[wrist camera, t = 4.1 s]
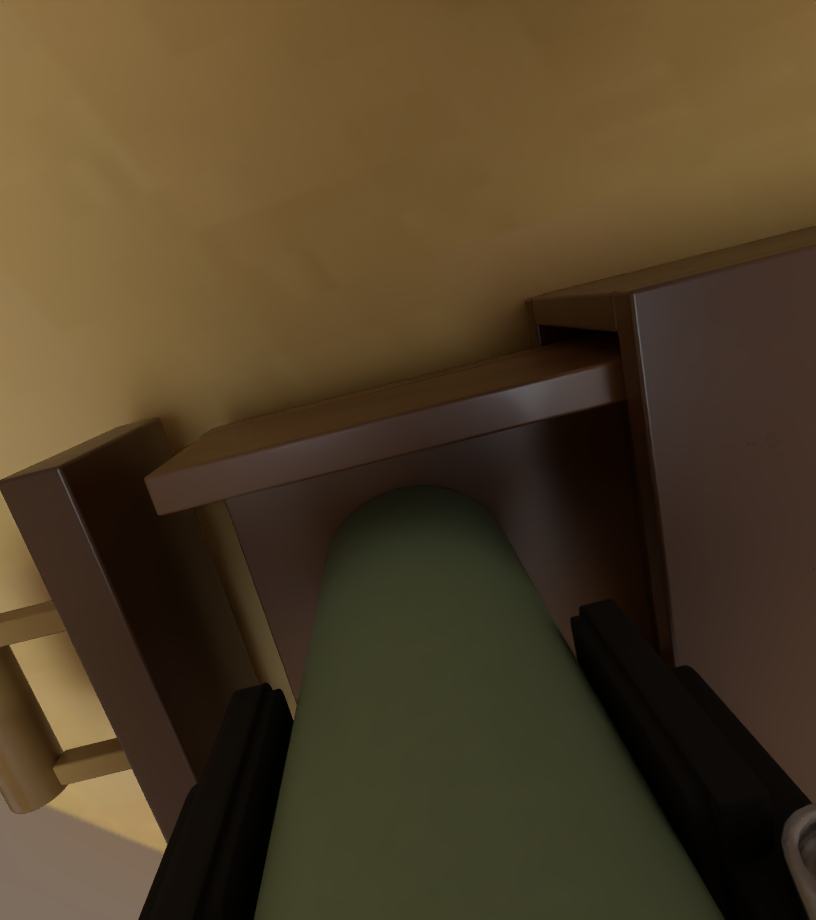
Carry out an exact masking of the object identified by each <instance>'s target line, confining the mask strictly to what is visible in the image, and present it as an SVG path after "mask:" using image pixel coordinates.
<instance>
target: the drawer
mask: <svg viewBox="0 0 816 920" xmlns="http://www.w3.org/2000/svg"><path fill="white" fill-rule="evenodd" d="M412 486H431V487H439V488H444V489H449V490H452V491H455V492H458V493H460V494H462V495H465V496H467V497H469V498H471V499H472V500H474V501H475V502H477V503H478V504H480V505H481V506H482V507H483V508H485V509H486V510H487V511H488V512H489V513H490V514H491V515H492V516H493V517H494V519H495V520H496V521H497V522H498V524H499V525H500V527H501V528H502V530H503V532H504V533H505V535H506V537H507V538H508V540H509V542H510V544H511V545H512V547H513V549H514V551H515V552H516V554H517V556H518V558H519V559H520V561H521V563H522V565H523V566H524V568H525V570H526V572H527V573H528V575H529V577H530V579H531V580H532V582H533V584H534V586H535V587H536V589H537V591H538V593H539V594H540V596H541V598H542V600H543V601H544V603H545V605H546V607H547V608H548V610H549V612H550V614H551V615H552V617H553V619H554V621H555V622H556V624H557V626H558V628H559V629H560V631H561V633H562V635H563V636H564V638H565V640H566V642H567V643H568V645H569V647H570V649H571V650H572V652H573V654H574V656H575V657H576V659H577V656H576V651H575V645H574V640H573V634H572V629H571V622H570V618H571V617H574V616H578V615H579V608H580V606H583V605H587V604H591V603H595V602H599V601H603V600H607V599H613V600H614V601H615V602H616V604H617V605H618V606H619V607H620V608H621V610H622V611H623V612H624V613H625V615H626V616H627V617H628V618H629V620H630V621H631V622H632V623H633V624H634V626H635V627H636V628H637V629H638V631H639V632H640V633H641V634H642V635H643V637H644V638H645V639H646V640H647V642H648V643H649V644H650V645H651V647H652V648H653V649H654V650H655V651H656V653H657V654H658V655H659V656H660V658H661V651H660V643H659V636H658V628H657V621H656V613H655V606H654V598H653V591H652V583H651V576H650V568H649V561H648V553H647V545H646V538H645V530H644V523H643V515H642V508H641V500H640V493H639V485H638V478H637V470H636V463H635V455H634V448H633V440H632V433H631V425H630V418H629V410H628V403H627V395H626V388H625V380H624V372H623V365H622V357H621V350H620V342H619V335H618V332H609V331H601V332H597V333H593V334H589V335H585V336H581V337H577V338H573V339H569V340H565V341H561V342H557V343H553V344H549V345H545V346H541V347H537V348H533V349H529V350H525V351H521V352H517V353H513V354H509V355H505V356H501V357H497V358H493V359H489V360H485V361H481V362H477V363H473V364H469V365H465V366H461V367H457V368H453V369H449V370H445V371H441V372H437V373H433V374H429V375H425V376H421V377H417V378H413V379H409V380H405V381H401V382H397V383H393V384H389V385H385V386H381V387H377V388H373V389H369V390H365V391H361V392H357V393H353V394H349V395H345V396H341V397H337V398H333V399H329V400H325V401H321V402H317V403H313V404H309V405H305V406H301V407H297V408H293V409H289V410H285V411H281V412H277V413H273V414H269V415H265V416H261V417H257V418H253V419H249V420H245V421H241V422H237V423H233V424H229V425H225V426H221V427H217V428H213V429H211V430H209V431H208V432H207V433H205V434H204V435H202V437H200V438H199V439H197V440H196V441H195V442H193V443H192V444H190V445H189V446H188V447H186V448H185V449H184V450H182V451H181V452H179V453H178V454H177V455H175V456H174V454H173V452H172V449H171V446H170V444H169V441H168V438H167V436H166V433H165V430H164V428H163V425H162V422H161V420H160V418H158V417H156V418H152V419H148V420H144V421H140V422H136V423H132V424H128V425H124V426H120V427H117V428H114V429H112V430H110V431H108V432H105V433H103V434H101V435H99V436H97V437H94V438H92V439H90V440H88V441H86V442H83V443H81V444H79V445H77V446H74V447H72V448H70V449H68V450H66V451H63V452H61V453H59V454H57V455H55V456H52V457H50V458H48V459H46V460H43V461H41V462H39V463H37V464H35V465H32V466H30V467H28V468H26V469H23V470H21V471H19V472H17V473H15V474H12V475H10V476H8V477H6V478H4V479H1V480H0V490H1V492H2V495H3V497H4V499H5V501H6V503H7V505H8V507H9V509H10V512H11V514H12V516H13V518H14V520H15V522H16V524H17V526H18V529H19V531H20V533H21V535H22V537H23V539H24V541H25V543H26V545H27V548H28V550H29V552H30V554H31V556H32V558H33V560H34V562H35V565H36V567H37V569H38V571H39V573H40V575H41V577H42V579H43V581H44V584H45V586H46V588H47V590H48V592H49V594H50V596H51V598H52V601H48V602H44V603H40V604H36V605H32V606H28V607H24V608H20V609H16V610H12V611H8V612H4V613H0V792H1V793H2V795H3V797H4V798H5V800H6V802H7V804H8V806H9V808H10V809H11V811H12V812H14V813H17V814H25V813H28V812H32V811H34V810H36V809H39V808H40V807H42V806H44V805H46V804H47V803H49V802H50V801H52V800H53V799H54V798H55V797H57V796H58V795H59V794H60V793H61V792H62V791H63V790H64V789H65V788H66V786H67V785H68V784H71V783H75V782H79V781H83V780H87V779H91V778H96V777H100V776H104V775H108V774H112V773H116V772H120V771H124V770H128V769H132V770H133V772H134V774H135V776H136V779H137V781H138V783H139V785H140V787H141V789H142V791H143V793H144V796H145V798H146V800H147V802H148V804H149V806H150V808H151V810H152V812H153V815H154V817H155V819H156V821H157V823H158V825H159V827H160V829H161V832H162V834H163V836H164V838H165V840H166V842H167V844H168V842H169V840H170V837H171V835H172V832H173V830H174V827H175V825H176V822H177V819H178V817H179V814H180V812H181V809H182V807H183V804H184V802H185V799H186V797H187V795H188V793H189V791H190V789H191V788H192V787H193V786H194V785H195V784H197V783H199V782H200V779H201V777H202V774H203V771H204V769H205V766H206V763H207V761H208V758H209V755H210V753H211V750H212V747H213V745H214V742H215V739H216V737H217V734H218V731H219V729H220V726H221V723H222V721H223V718H224V715H225V713H226V710H227V707H228V705H229V702H230V699H231V697H232V695H233V693H234V692H235V691H236V690H239V689H243V688H247V687H251V686H256V685H259V682H258V680H257V677H256V674H255V672H254V669H253V666H252V664H251V661H250V658H249V655H248V653H247V650H246V647H245V645H244V642H243V639H242V637H241V634H240V631H239V629H238V626H237V623H236V621H235V618H234V615H233V613H232V610H231V607H230V605H229V602H228V599H227V596H226V594H225V591H224V588H223V586H222V583H221V580H220V578H219V575H218V572H217V570H216V567H215V564H214V562H213V559H212V556H211V554H210V551H209V548H208V546H207V543H206V540H205V538H204V535H203V532H202V529H201V527H200V524H199V521H198V519H197V516H196V513H195V511H194V508H195V507H199V506H203V505H207V504H211V503H215V502H219V501H223V500H224V501H225V503H226V506H227V509H228V512H229V515H230V517H231V520H232V523H233V526H234V529H235V532H236V534H237V537H238V540H239V543H240V546H241V548H242V551H243V554H244V557H245V560H246V563H247V565H248V568H249V571H250V574H251V577H252V579H253V582H254V585H255V588H256V591H257V594H258V596H259V599H260V602H261V605H262V608H263V610H264V613H265V616H266V619H267V622H268V625H269V627H270V630H271V633H272V636H273V639H274V641H275V644H276V647H277V650H278V653H279V656H280V658H281V661H282V664H283V667H284V670H285V672H286V675H287V678H288V681H289V684H290V686H291V689H292V692H293V695H294V698H295V701H296V703H298V698H299V693H300V688H301V683H302V678H303V673H304V668H305V663H306V658H307V653H308V648H309V644H310V639H311V634H312V629H313V624H314V619H315V614H316V609H317V604H318V599H319V594H320V589H321V584H322V579H323V574H324V569H325V564H326V559H327V554H328V551H329V548H330V546H331V543H332V541H333V539H334V537H335V535H336V533H337V531H338V530H339V528H340V527H341V526H342V524H343V523H344V522H345V520H346V519H347V518H348V517H349V516H350V515H351V514H352V513H353V512H354V511H356V510H357V509H358V508H359V507H360V506H362V505H363V504H365V503H366V502H368V501H369V500H371V499H373V498H375V497H377V496H379V495H381V494H383V493H386V492H389V491H392V490H395V489H400V488H405V487H412ZM63 631H67V632H68V634H69V637H70V639H71V641H72V643H73V645H74V647H75V649H76V651H77V654H78V656H79V658H80V660H81V662H82V664H83V666H84V668H85V671H86V673H87V675H88V677H89V679H90V681H91V683H92V685H93V687H94V690H95V692H96V694H97V696H98V698H99V700H100V702H101V704H102V707H103V709H104V711H105V713H106V715H107V717H108V719H109V721H110V723H111V726H112V728H113V730H114V732H115V734H116V736H117V738H114V739H110V740H106V741H102V742H97V743H93V744H89V745H85V746H81V747H77V748H73V749H69V750H66V751H64V752H63V750H62V748H61V746H60V744H59V742H58V740H57V738H56V736H55V734H54V732H53V730H52V728H51V726H50V724H49V722H48V720H47V718H46V716H45V714H44V712H43V710H42V708H41V706H40V704H39V703H38V701H37V699H36V697H35V695H34V693H33V691H32V689H31V687H30V685H29V683H28V681H27V679H26V677H25V675H24V673H23V671H22V669H21V667H20V665H19V663H18V661H17V659H16V657H15V655H14V653H13V651H12V649H11V648H10V646H9V645H11V644H15V643H19V642H23V641H27V640H31V639H35V638H39V637H43V636H47V635H51V634H55V633H59V632H63ZM661 659H662V658H661Z"/></svg>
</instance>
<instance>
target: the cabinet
mask: <svg viewBox="0 0 816 920" xmlns="http://www.w3.org/2000/svg"><path fill="white" fill-rule="evenodd" d="M525 304H526V309H527V315H528V321H529V326H530V332H531V338H532V343H533V348H537V347H541V346H545V345H549V344H553V343H557V342H561V341H565V340H569V339H573V338H577V337H581V336H585V335H589V334H593V333H597V332H601V331H609V332H618V335H619V342H620V350H621V357H622V365H623V372H624V380H625V388H626V395H627V403H628V410H629V418H630V425H631V433H632V440H633V448H634V455H635V463H636V470H637V478H638V485H639V493H640V500H641V508H642V515H643V523H644V530H645V538H646V545H647V553H648V561H649V568H650V576H651V583H652V591H653V598H654V606H655V613H656V621H657V628H658V636H659V643H660V651H661V658H662V660H663V661H664V663H665V664H666V665H667V666H668V667H669V669H671V668H675V667H679V666H683V665H687V666H690V667H692V668H693V669H694V670H695V671H696V672H697V673H698V674H699V675H700V676H701V677H702V678H703V679H704V681H705V682H706V683H707V684H708V685H709V686H710V687H711V689H712V690H713V691H714V692H715V693H716V694H717V695H718V696H719V698H720V699H721V700H722V701H723V702H724V703H725V704H726V706H727V707H728V708H729V709H730V710H731V711H732V712H733V713H734V715H735V716H736V717H737V718H738V719H739V720H740V721H741V723H742V724H743V725H744V726H745V727H746V728H747V729H748V730H749V732H750V733H751V734H752V735H753V736H754V737H755V738H756V740H757V741H758V742H759V743H760V744H761V745H762V746H763V748H764V749H765V750H766V751H767V752H768V753H769V754H770V755H771V757H772V758H773V759H774V760H775V761H776V762H777V763H778V765H779V766H780V767H781V768H782V769H783V770H784V771H785V772H786V774H787V775H788V776H789V777H790V778H791V779H792V780H793V782H794V783H795V784H796V785H797V786H798V787H799V788H800V789H801V791H802V792H803V793H804V794H805V795H806V796H807V797H808V799H809V800H810V801H811V802H812V803H813V804H815V803H816V226H813V227H809V228H805V229H801V230H797V231H793V232H789V233H785V234H781V235H777V236H773V237H769V238H765V239H761V240H757V241H753V242H749V243H745V244H741V245H737V246H733V247H729V248H725V249H721V250H717V251H713V252H709V253H705V254H701V255H697V256H693V257H689V258H685V259H681V260H677V261H673V262H669V263H665V264H661V265H657V266H653V267H649V268H645V269H641V270H637V271H633V272H629V273H625V274H621V275H617V276H613V277H609V278H605V279H601V280H597V281H593V282H589V283H585V284H581V285H578V286H574V287H570V288H566V289H562V290H558V291H554V292H550V293H546V294H542V295H538V296H534V297H530V298H527V299H526V301H525Z"/></svg>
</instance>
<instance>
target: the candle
mask: <svg viewBox="0 0 816 920" xmlns="http://www.w3.org/2000/svg"><path fill="white" fill-rule="evenodd" d="M254 920H725V918H724V917H723V915H722V913H721V911H720V910H719V908H718V906H717V904H716V903H715V901H714V899H713V897H712V896H711V894H710V892H709V890H708V889H707V887H706V885H705V883H704V882H703V880H702V878H701V876H700V875H699V873H698V871H697V869H696V868H695V866H694V864H693V862H692V861H691V859H690V857H689V855H688V854H687V852H686V850H685V848H684V847H683V845H682V843H681V841H680V840H679V838H678V836H677V834H676V833H675V831H674V829H673V827H672V826H671V824H670V822H669V820H668V819H667V817H666V815H665V813H664V812H663V810H662V808H661V806H660V805H659V803H658V801H657V799H656V798H655V796H654V794H653V792H652V791H651V789H650V787H649V785H648V784H647V782H646V780H645V778H644V777H643V775H642V773H641V771H640V769H639V768H638V766H637V764H636V762H635V761H634V759H633V757H632V755H631V754H630V752H629V750H628V748H627V747H626V745H625V743H624V741H623V740H622V738H621V736H620V734H619V733H618V731H617V729H616V727H615V726H614V724H613V722H612V720H611V719H610V717H609V715H608V713H607V712H606V710H605V708H604V706H603V705H602V703H601V701H600V699H599V698H598V696H597V694H596V692H595V691H594V689H593V687H592V685H591V684H590V682H589V680H588V678H587V677H586V675H585V673H584V671H583V670H582V668H581V666H580V664H579V663H578V661H577V659H576V657H575V656H574V654H573V652H572V650H571V649H570V647H569V645H568V643H567V642H566V640H565V638H564V636H563V635H562V633H561V631H560V629H559V628H558V626H557V624H556V622H555V621H554V619H553V617H552V615H551V614H550V612H549V610H548V608H547V607H546V605H545V603H544V601H543V600H542V598H541V596H540V594H539V593H538V591H537V589H536V587H535V586H534V584H533V582H532V580H531V579H530V577H529V575H528V573H527V572H526V570H525V568H524V566H523V565H522V563H521V561H520V559H519V558H518V556H517V554H516V552H515V551H514V549H513V547H512V545H511V544H510V542H509V540H508V538H507V537H506V535H505V533H504V532H503V530H502V528H501V527H500V525H499V524H498V522H497V521H496V520H495V519H494V517H493V516H492V515H491V514H490V513H489V512H488V511H487V510H486V509H485V508H483V507H482V506H481V505H480V504H478V503H477V502H475V501H474V500H472V499H471V498H469V497H467V496H465V495H462V494H460V493H458V492H455V491H452V490H449V489H444V488H439V487H431V486H412V487H405V488H400V489H395V490H392V491H389V492H386V493H383V494H381V495H379V496H377V497H375V498H373V499H371V500H369V501H368V502H366V503H365V504H363V505H362V506H360V507H359V508H358V509H357V510H356V511H354V512H353V513H352V514H351V515H350V516H349V517H348V518H347V519H346V520H345V522H344V523H343V524H342V526H341V527H340V528H339V530H338V531H337V533H336V535H335V537H334V539H333V541H332V543H331V546H330V548H329V551H328V554H327V559H326V564H325V569H324V574H323V579H322V584H321V589H320V594H319V599H318V604H317V609H316V614H315V619H314V624H313V629H312V634H311V639H310V644H309V648H308V653H307V658H306V663H305V668H304V673H303V678H302V683H301V688H300V693H299V698H298V703H297V708H296V713H295V718H294V723H293V728H292V733H291V738H290V742H289V747H288V752H287V757H286V762H285V767H284V772H283V777H282V782H281V787H280V792H279V797H278V802H277V807H276V812H275V817H274V822H273V827H272V832H271V837H270V841H269V846H268V851H267V856H266V861H265V866H264V871H263V876H262V881H261V886H260V891H259V896H258V901H257V906H256V911H255V916H254Z"/></svg>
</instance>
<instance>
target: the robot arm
mask: <svg viewBox="0 0 816 920" xmlns="http://www.w3.org/2000/svg"><path fill="white" fill-rule="evenodd" d="M570 622H571V629H572V634H573V640H574V645H575V651H576V656H577V661H578V663H579V664H580V666H581V668H582V670H583V671H584V673H585V675H586V677H587V678H588V680H589V682H590V684H591V685H592V687H593V689H594V691H595V692H596V694H597V696H598V698H599V699H600V701H601V703H602V705H603V706H604V708H605V710H606V712H607V713H608V715H609V717H610V719H611V720H612V722H613V724H614V726H615V727H616V729H617V731H618V733H619V734H620V736H621V738H622V740H623V741H624V743H625V745H626V747H627V748H628V750H629V752H630V754H631V755H632V757H633V759H634V761H635V762H636V764H637V766H638V768H639V769H640V771H641V773H642V775H643V777H644V778H645V780H646V782H647V784H648V785H649V787H650V789H651V791H652V792H653V794H654V796H655V798H656V799H657V801H658V803H659V805H660V806H661V808H662V810H663V812H664V813H665V815H666V817H667V819H668V820H669V822H670V824H671V826H672V827H673V829H674V831H675V833H676V834H677V836H678V838H679V840H680V841H681V843H682V845H683V847H684V848H685V850H686V852H687V854H688V855H689V857H690V859H691V861H692V862H693V864H694V866H695V868H696V869H697V871H698V873H699V875H700V876H701V878H702V880H703V882H704V883H705V885H706V887H707V889H708V890H709V892H710V894H711V896H712V897H713V899H714V901H715V903H716V904H717V906H718V908H719V910H720V911H721V913H722V915H723V917H724V918H725V920H816V803H815V804H813V803H812V802H811V801H810V800H809V799H808V797H807V796H806V795H805V794H804V793H803V792H802V791H801V789H800V788H799V787H798V786H797V785H796V784H795V783H794V782H793V780H792V779H791V778H790V777H789V776H788V775H787V774H786V772H785V771H784V770H783V769H782V768H781V767H780V766H779V765H778V763H777V762H776V761H775V760H774V759H773V758H772V757H771V755H770V754H769V753H768V752H767V751H766V750H765V749H764V748H763V746H762V745H761V744H760V743H759V742H758V741H757V740H756V738H755V737H754V736H753V735H752V734H751V733H750V732H749V730H748V729H747V728H746V727H745V726H744V725H743V724H742V723H741V721H740V720H739V719H738V718H737V717H736V716H735V715H734V713H733V712H732V711H731V710H730V709H729V708H728V707H727V706H726V704H725V703H724V702H723V701H722V700H721V699H720V698H719V696H718V695H717V694H716V693H715V692H714V691H713V690H712V689H711V687H710V686H709V685H708V684H707V683H706V682H705V681H704V679H703V678H702V677H701V676H700V675H699V674H698V673H697V672H696V671H695V670H694V669H693V668H692V667H690V666H687V665H683V666H679V667H675V668H671V669H669V667H668V666H667V665H666V664H665V663H664V661H663V660H662V659H661V658H660V656H659V655H658V654H657V653H656V651H655V650H654V649H653V648H652V647H651V645H650V644H649V643H648V642H647V640H646V639H645V638H644V637H643V635H642V634H641V633H640V632H639V631H638V629H637V628H636V627H635V626H634V624H633V623H632V622H631V621H630V620H629V618H628V617H627V616H626V615H625V613H624V612H623V611H622V610H621V608H620V607H619V606H618V605H617V604H616V602H615V601H614V600H613V599H607V600H603V601H599V602H595V603H591V604H587V605H583V606H580V608H579V615H578V616H574V617H571V618H570ZM293 723H294V721H293V718H292V715H291V712H290V709H289V707H288V704H287V701H286V698H285V696H284V693H283V691H282V690H281V689H276V690H273V689H272V687H271V686H270V685H269V684H268V683H264V684H260V685H256V686H251V687H247V688H243V689H239V690H236V691H235V692H234V693H233V695H232V697H231V699H230V702H229V705H228V707H227V710H226V713H225V715H224V718H223V721H222V723H221V726H220V729H219V731H218V734H217V737H216V739H215V742H214V745H213V747H212V750H211V753H210V755H209V758H208V761H207V763H206V766H205V769H204V771H203V774H202V777H201V779H200V782H199V783H197V784H195V785H194V786H193V787H192V788H191V789H190V791H189V793H188V795H187V797H186V799H185V802H184V804H183V807H182V809H181V812H180V814H179V817H178V819H177V822H176V825H175V827H174V830H173V832H172V835H171V837H170V840H169V842H168V845H167V848H166V850H165V853H164V855H163V858H162V860H161V863H160V866H159V868H158V871H157V873H156V876H155V878H154V881H153V884H152V886H151V889H150V891H149V894H148V897H147V899H146V901H145V904H144V906H143V909H142V912H141V914H140V917H139V919H138V920H254V916H255V911H256V906H257V901H258V896H259V891H260V886H261V881H262V876H263V871H264V866H265V861H266V856H267V851H268V846H269V841H270V837H271V832H272V827H273V822H274V817H275V812H276V807H277V802H278V797H279V792H280V787H281V782H282V777H283V772H284V767H285V762H286V757H287V752H288V747H289V742H290V738H291V733H292V728H293Z"/></svg>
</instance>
